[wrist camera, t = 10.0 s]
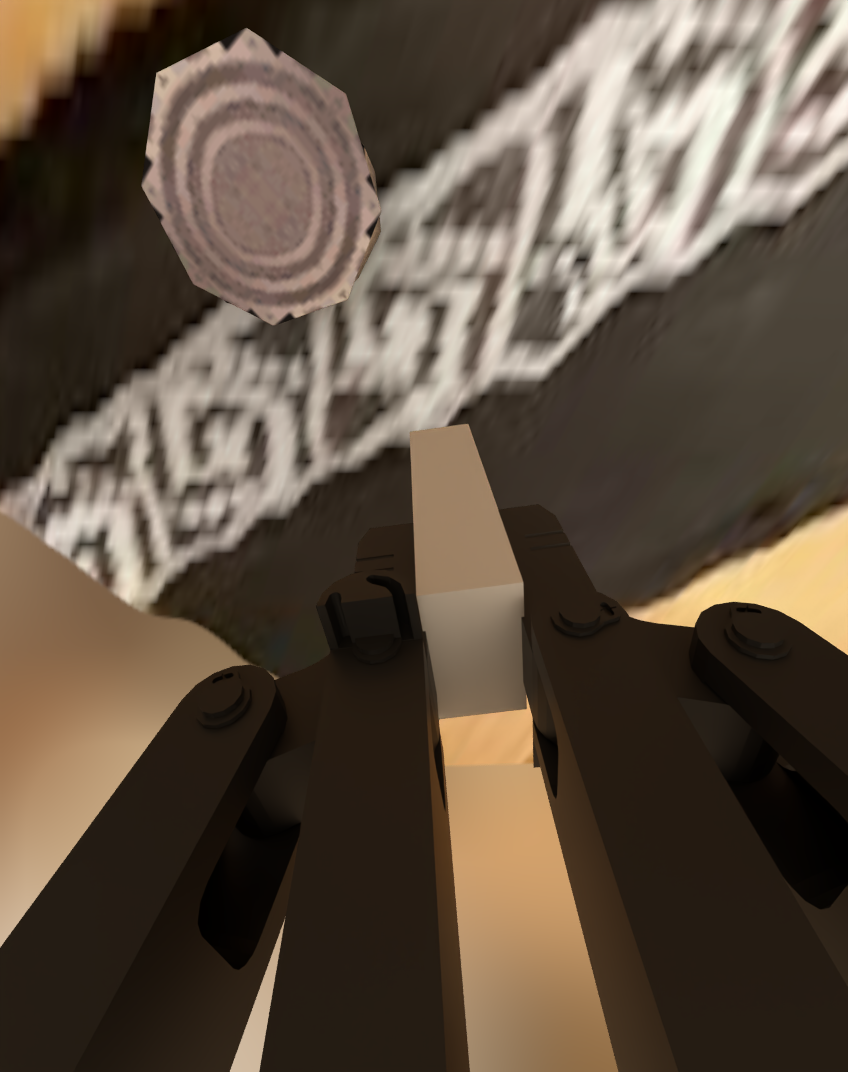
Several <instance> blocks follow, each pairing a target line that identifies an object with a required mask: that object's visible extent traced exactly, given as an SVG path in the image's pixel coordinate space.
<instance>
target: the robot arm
mask: <svg viewBox="0 0 848 1072" xmlns="http://www.w3.org/2000/svg"><path fill="white" fill-rule="evenodd" d="M410 448H411V473H412V498H413V523H407V524H400V525H393V526H385V527H378V528H370V529H369V531H368V532H367V533H366V534H365V536H364V537H363V538H362V539H361V541H360V542H359V543H358V550H357V557H356V561H357V562H356V564H355V571H354V574H350V575H348V576H346V577H344V578H342V579H340V580H338V581H336V582H335V583H333V584H332V585H331V586H330V587H329V588H328V589H327V590H326V591H325V592H323V593H322V595H321V597H320V599H319V601H318V603H317V605H316V608H317V611H318V614H319V617H320V620H321V623H322V626H323V629H324V632H325V635H326V638H327V641H328V644H329V647H330V654H329V655H327V656H326V657H325V658H323V659H322V660H320V661H319V662H317V663H315V664H313V665H311V666H309V667H307V668H305V669H302V670H300V671H297V672H295V673H292V674H289V675H287V676H284V677H282V678H279V679H276V680H274V678H273V677H272V676H271V675H270V674H269V673H268V672H267V671H266V670H265V669H264V668H260V667H256V666H253V665H242V666H232V667H230V668H227V669H224V670H221V671H219V672H216V673H214V674H212V675H211V676H209V677H208V678H206V679H204V680H203V681H201V682H200V683H198V684H197V685H196V686H195V687H194V688H193V689H192V690H191V691H190V692H189V693H188V694H187V695H186V696H185V697H184V698H183V699H182V700H181V702H180V703H179V704H178V706H177V707H176V709H175V710H174V711H173V713H172V714H171V715H170V717H169V718H168V720H167V721H166V722H165V724H164V725H163V727H162V728H161V729H160V731H159V732H158V733H157V735H156V736H155V737H154V739H153V740H152V741H151V743H150V744H149V745H148V747H147V748H146V750H145V751H144V752H143V754H142V755H141V756H140V758H139V759H138V761H137V762H136V763H135V765H134V766H133V767H132V769H131V770H130V771H129V773H128V774H127V775H126V777H125V778H124V780H123V781H122V782H121V784H120V785H119V786H118V788H117V789H116V790H115V792H114V793H113V795H112V796H111V797H110V799H109V800H108V801H107V803H106V804H105V806H104V807H103V808H102V810H101V811H100V812H99V814H98V815H97V816H96V818H95V819H94V821H93V822H92V823H91V825H90V826H89V827H88V829H87V830H86V831H85V833H84V834H83V836H82V837H81V838H80V840H79V841H78V842H77V844H76V845H75V846H74V848H73V849H72V850H71V852H70V853H69V855H68V856H67V857H66V859H65V860H64V862H63V863H62V864H61V865H60V867H59V868H58V870H57V871H56V872H55V874H54V875H53V876H52V878H51V879H50V880H49V882H48V883H47V885H46V886H45V887H44V889H43V890H42V891H41V893H40V894H39V896H38V897H37V898H36V900H35V901H34V903H33V904H32V905H31V906H30V908H29V909H28V910H27V912H26V913H25V915H24V916H23V917H22V919H21V920H20V921H19V923H18V924H17V925H16V927H15V928H14V930H13V931H12V932H11V934H10V935H9V937H8V938H7V939H6V940H5V942H4V943H3V945H2V946H1V948H0V1072H230V1069H231V1066H232V1064H233V1061H234V1058H235V1055H236V1052H237V1050H238V1047H239V1044H240V1041H241V1039H242V1036H243V1033H244V1030H245V1027H246V1025H247V1022H248V1019H249V1016H250V1014H251V1011H252V1008H253V1005H254V1002H255V1000H256V997H257V994H258V991H259V989H260V986H261V983H262V980H263V977H264V975H265V972H266V969H267V966H268V963H269V961H270V958H271V955H272V952H273V949H274V947H275V944H276V941H277V939H278V936H279V933H280V930H281V927H282V925H283V922H284V919H285V923H284V929H283V935H282V941H281V948H280V953H279V959H278V965H277V971H276V976H275V982H274V988H273V995H272V1000H271V1006H270V1012H269V1018H268V1024H267V1030H266V1036H265V1042H264V1048H263V1054H262V1060H261V1065H260V1072H470V1068H469V1056H468V1044H467V1032H466V1019H465V1007H464V995H463V983H462V971H461V959H460V947H459V936H458V923H457V911H456V899H455V886H454V874H453V863H452V850H451V840H450V839H451V838H450V826H449V814H448V802H447V790H446V778H445V766H444V754H443V746H442V741H441V735H440V729H439V719H445V718H453V717H462V716H470V715H479V714H487V713H496V712H504V711H513V710H521V709H527V705H526V694H527V698H528V702H529V705H530V709H531V713H532V717H533V762H534V767H540V768H541V771H542V775H543V779H544V783H545V787H546V791H547V795H548V799H549V803H550V806H551V810H552V814H553V818H554V822H555V826H556V830H557V834H558V838H559V842H560V845H561V849H562V853H563V857H564V861H565V865H566V869H567V873H568V877H569V880H570V884H571V888H572V892H573V896H574V900H575V904H576V908H577V912H578V916H579V920H580V923H581V927H582V931H583V935H584V939H585V943H586V947H587V950H588V955H589V958H590V962H591V966H592V970H593V974H594V978H595V982H596V985H597V990H598V994H599V997H600V1001H601V1005H602V1009H603V1013H604V1017H605V1021H606V1024H607V1029H608V1032H609V1036H610V1040H611V1044H612V1048H613V1052H614V1056H615V1060H616V1064H617V1067H618V1071H619V1072H848V655H847V654H845V653H844V652H842V651H841V650H839V649H838V648H836V647H835V646H834V645H832V644H831V643H829V642H828V641H826V640H825V639H823V638H822V637H820V636H819V635H818V634H816V633H815V632H813V631H812V630H810V629H809V628H807V627H806V626H805V625H803V624H802V623H800V622H799V621H797V620H795V619H793V618H791V617H789V616H787V615H785V614H784V613H782V612H780V611H778V610H774V609H771V608H768V607H764V606H761V605H757V604H751V603H740V602H729V603H723V604H716V605H713V606H712V607H710V608H708V609H706V610H704V611H703V612H701V614H700V616H699V618H698V620H697V622H696V624H695V627H685V626H676V625H667V624H657V623H651V622H646V621H640V620H637V619H634V618H632V617H629V615H628V614H627V612H626V611H625V610H624V609H623V608H622V607H621V606H620V605H619V604H618V602H617V601H615V600H613V599H611V598H609V597H608V596H606V595H604V594H602V593H599V592H597V591H596V589H595V587H594V586H593V584H592V582H591V580H590V578H589V576H588V575H587V573H586V571H585V569H584V567H583V565H582V564H581V562H580V560H579V558H578V556H577V554H576V553H575V551H574V549H573V547H572V546H570V542H569V540H568V538H567V536H566V534H565V533H563V529H562V527H561V525H560V523H559V521H558V520H557V518H556V516H555V515H554V514H552V513H551V512H549V511H548V510H546V509H545V508H543V507H542V506H540V505H539V504H536V505H529V506H522V507H514V508H507V509H499V510H498V508H497V505H496V502H495V500H494V497H493V494H492V491H491V488H490V485H489V482H488V480H487V477H486V474H485V471H484V468H483V465H482V462H481V459H480V457H479V454H478V451H477V448H476V445H475V442H474V439H473V437H472V434H471V431H470V428H469V425H468V424H463V425H456V426H448V427H441V428H434V429H427V430H420V431H413V432H410ZM285 916H286V917H285Z"/></svg>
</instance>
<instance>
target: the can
mask: <svg viewBox="0 0 848 1072" xmlns="http://www.w3.org/2000/svg"><path fill="white" fill-rule="evenodd" d="M142 188H143V190H144V192H145V193H146V195H147V197H148V199H149V201H150V203H151V205H152V207H153V209H154V210H155V212H156V214H157V216H158V218H159V220H160V222H161V224H162V226H163V227H164V229H165V231H166V233H167V235H168V237H169V239H170V241H171V243H172V246H173V248H174V249H175V250H176V252H177V254H178V256H179V258H180V260H181V261H182V263H183V265H184V267H185V269H186V271H187V273H188V275H189V277H190V278H191V280H192V282H193V284H194V285H196V286H198V287H200V288H202V289H204V290H206V291H208V292H210V293H212V294H213V295H215V296H217V297H219V298H221V299H223V300H224V301H225V302H226V303H230V304H233V305H235V306H237V307H239V308H241V309H242V310H244V311H246V312H248V313H250V314H252V315H254V316H256V317H258V318H260V319H262V320H264V321H266V322H268V323H270V324H272V325H273V326H274V325H277V324H280V323H283V322H286V321H289V320H291V319H294V318H297V317H300V316H303V315H305V314H308V313H311V312H314V311H317V310H319V309H322V308H325V307H328V306H331V305H334V304H336V303H339V302H342V301H345V300H347V299H348V297H349V294H350V291H351V289H352V286H353V284H354V282H355V281H356V280H357V279H358V278H359V276H360V274H361V272H362V269H363V267H364V265H365V263H366V261H367V259H368V257H369V255H370V253H371V251H372V249H373V247H374V245H375V243H376V241H377V239H378V237H379V234H380V232H381V228H380V218H379V216H380V213H381V208H380V205H379V201H378V198H377V188H376V178H375V171H374V169H373V166H372V164H371V162H370V159H369V157H368V155H367V153H366V150H365V148H364V146H363V145H362V143H361V142H360V139H359V136H358V132H357V129H356V126H355V122H354V119H353V116H352V113H351V109H350V106H349V103H348V99H347V96H346V94H345V93H344V92H342V91H341V90H339V89H338V88H336V87H335V86H333V85H332V84H330V83H329V82H327V81H326V80H324V79H323V78H321V77H320V76H318V75H317V74H315V73H314V72H312V71H311V70H309V69H308V68H306V67H305V66H303V65H302V64H300V63H299V62H297V61H296V60H294V59H293V58H291V57H290V56H288V55H287V54H285V53H284V52H282V51H281V50H279V49H278V48H276V47H275V46H273V45H272V44H270V43H269V42H267V41H266V40H264V39H263V38H261V37H260V36H258V35H257V34H255V33H254V32H252V31H251V30H249V29H248V28H245V29H243V30H241V31H239V32H237V33H235V34H233V35H231V36H229V37H227V38H225V39H223V40H221V41H219V42H217V43H216V44H214V45H212V46H210V47H208V48H206V49H204V50H202V51H200V52H198V53H196V54H194V55H192V56H190V57H188V58H186V59H184V60H182V61H180V62H178V63H176V64H174V65H172V66H170V67H168V68H166V69H164V70H162V71H160V72H158V73H157V74H156V81H155V89H154V96H153V104H152V111H151V119H150V126H149V134H148V141H147V148H146V156H145V163H144V171H143V178H142Z"/></svg>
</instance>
